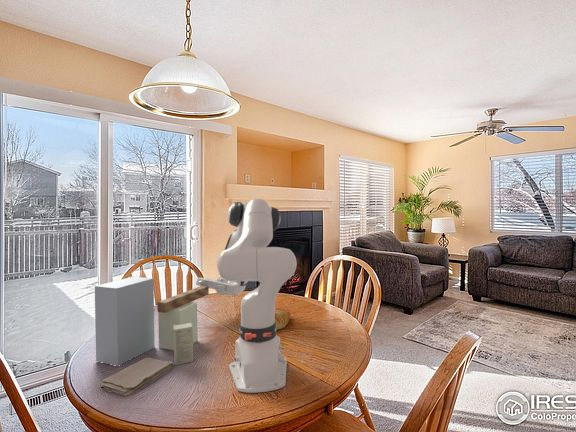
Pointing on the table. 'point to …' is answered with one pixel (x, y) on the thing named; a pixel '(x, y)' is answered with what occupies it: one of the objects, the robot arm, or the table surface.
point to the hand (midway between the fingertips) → (207, 285)
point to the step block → (176, 323)
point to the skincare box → (183, 343)
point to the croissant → (281, 318)
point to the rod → (182, 299)
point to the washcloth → (136, 376)
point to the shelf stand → (124, 319)
